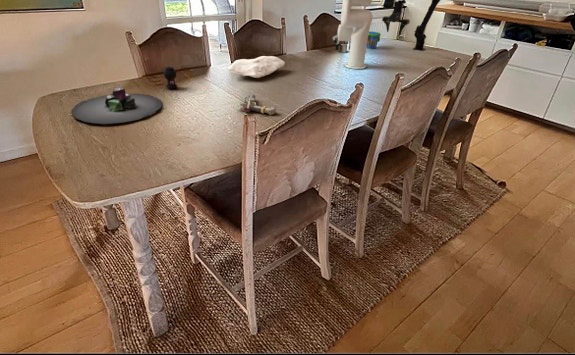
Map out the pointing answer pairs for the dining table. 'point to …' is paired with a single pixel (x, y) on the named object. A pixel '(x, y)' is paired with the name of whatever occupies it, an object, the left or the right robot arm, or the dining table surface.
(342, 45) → the canister
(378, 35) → the snack cup
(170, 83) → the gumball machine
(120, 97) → the grey flat disc
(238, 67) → the crumpled cloth
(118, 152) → the dining table surface
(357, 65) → the left robot arm
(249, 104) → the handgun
